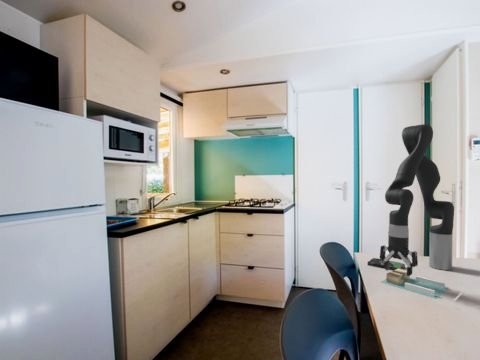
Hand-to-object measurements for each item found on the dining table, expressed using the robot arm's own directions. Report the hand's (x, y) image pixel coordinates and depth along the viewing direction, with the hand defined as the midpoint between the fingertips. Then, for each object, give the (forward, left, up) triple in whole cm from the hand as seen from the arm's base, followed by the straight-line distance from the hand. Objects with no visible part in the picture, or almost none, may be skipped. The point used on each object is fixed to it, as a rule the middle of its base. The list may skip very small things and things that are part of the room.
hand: (397, 272), depth 116 cm
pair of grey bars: (0, +10, -4) cm, 11 cm away
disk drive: (-16, -12, -5) cm, 21 cm away
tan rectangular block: (0, 0, -3) cm, 3 cm away
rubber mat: (0, +6, -4) cm, 7 cm away
